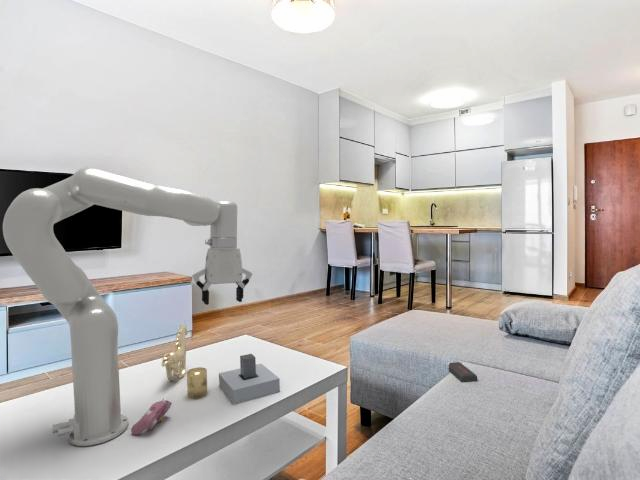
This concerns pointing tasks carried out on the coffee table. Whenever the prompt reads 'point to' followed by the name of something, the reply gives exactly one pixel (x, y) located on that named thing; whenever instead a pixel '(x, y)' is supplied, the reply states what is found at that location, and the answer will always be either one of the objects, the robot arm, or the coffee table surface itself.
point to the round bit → (197, 383)
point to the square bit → (248, 366)
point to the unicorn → (176, 355)
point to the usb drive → (461, 372)
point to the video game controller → (151, 417)
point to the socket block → (248, 384)
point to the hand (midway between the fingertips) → (222, 302)
